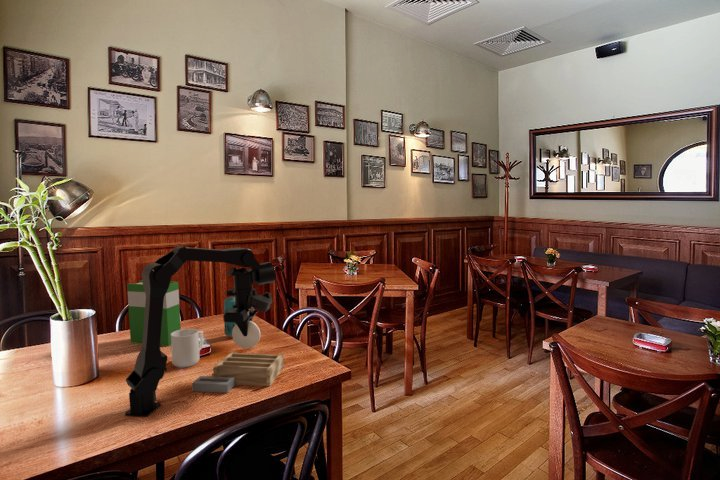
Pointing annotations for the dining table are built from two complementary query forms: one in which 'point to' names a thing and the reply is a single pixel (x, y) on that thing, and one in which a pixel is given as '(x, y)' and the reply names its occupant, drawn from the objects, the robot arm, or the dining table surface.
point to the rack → (250, 368)
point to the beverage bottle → (227, 306)
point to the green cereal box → (138, 312)
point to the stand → (213, 384)
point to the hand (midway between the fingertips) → (246, 335)
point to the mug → (186, 347)
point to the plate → (248, 340)
